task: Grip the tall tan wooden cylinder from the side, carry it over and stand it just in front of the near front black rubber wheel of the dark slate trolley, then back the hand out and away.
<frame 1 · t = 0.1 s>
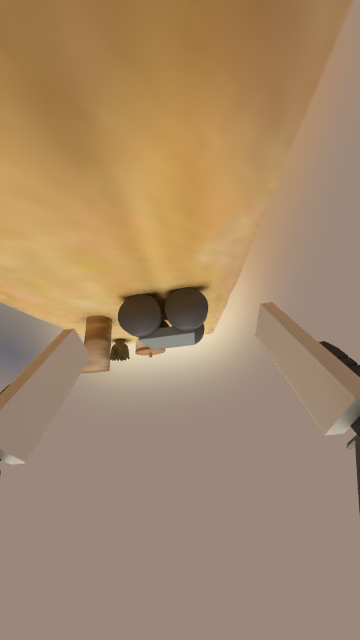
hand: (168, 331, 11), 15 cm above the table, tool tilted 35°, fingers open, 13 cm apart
dark brown textured bowl: (120, 339, 66), on the table
trolley: (167, 308, 42), on the table
lidded jar: (149, 331, 61), on the table
tan wooden cylinder: (99, 320, 45), on the table
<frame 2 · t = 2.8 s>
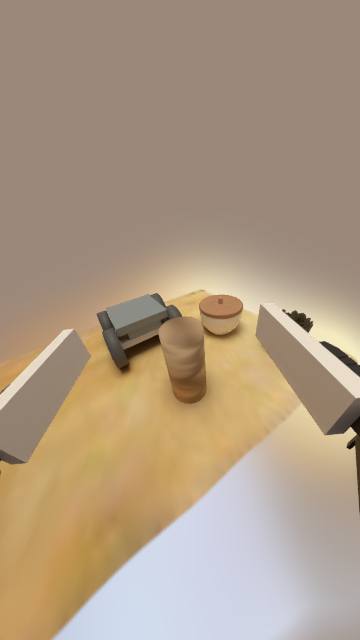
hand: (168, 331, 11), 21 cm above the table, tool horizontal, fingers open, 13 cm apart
dark brown textured bowl: (280, 348, 36), on the table
trolley: (144, 338, 44), on the table
lidded jar: (219, 328, 44), on the table
tan wooden cylinder: (189, 386, 30), on the table
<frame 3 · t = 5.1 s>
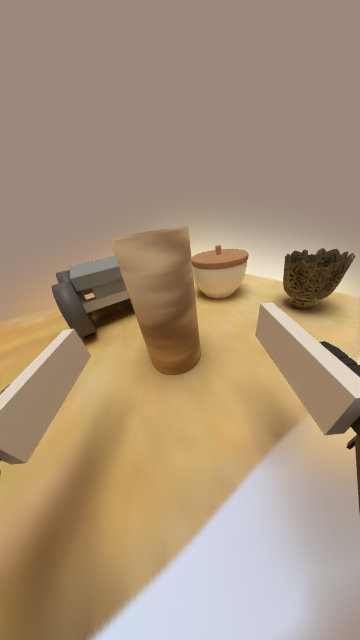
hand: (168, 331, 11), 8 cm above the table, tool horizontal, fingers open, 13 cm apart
dark brown textured bowl: (300, 306, 26), on the table
trolley: (122, 307, 35), on the table
lidded jar: (218, 293, 35), on the table
tan wooden cylinder: (176, 354, 21), on the table
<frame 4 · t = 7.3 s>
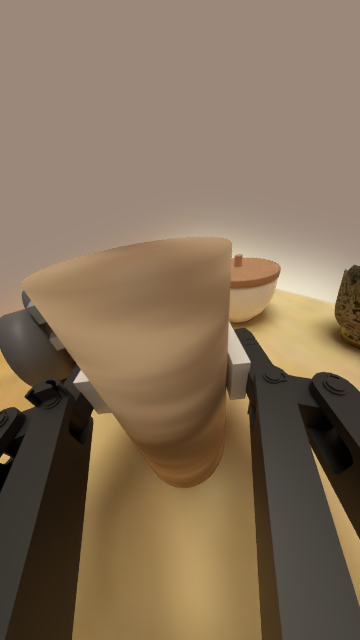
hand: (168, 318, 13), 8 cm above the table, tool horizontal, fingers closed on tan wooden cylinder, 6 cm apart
dark brown textured bowl: (358, 342, 19), on the table
trolley: (111, 331, 27), on the table
lidded jar: (234, 313, 27), on the table
tan wooden cylinder: (183, 432, 13), on the table, touching gripper
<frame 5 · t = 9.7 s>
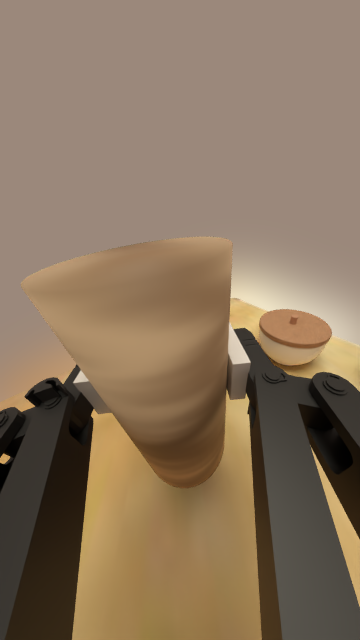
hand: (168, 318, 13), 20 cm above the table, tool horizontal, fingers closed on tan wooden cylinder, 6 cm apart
lidded jar: (283, 354, 33), on the table
tan wooden cylinder: (184, 432, 13), point 12 cm above the table, touching gripper
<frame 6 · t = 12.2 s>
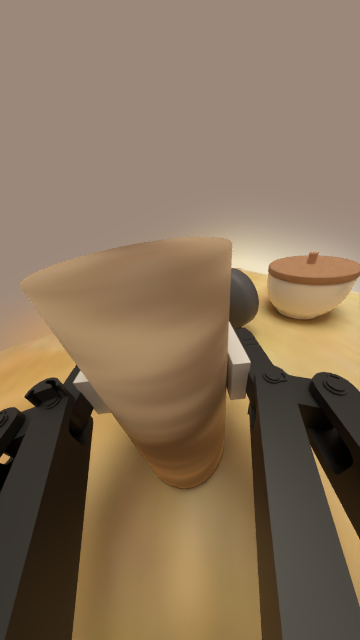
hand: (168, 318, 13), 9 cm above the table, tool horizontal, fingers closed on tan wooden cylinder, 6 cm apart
trolley: (174, 328, 28), on the table
lidded jar: (296, 310, 27), on the table
tan wooden cylinder: (184, 432, 13), point 1 cm above the table, touching gripper
when the fingers open (9 cm above the table, at t = 12.2 s): tan wooden cylinder drops 1 cm, on the table.
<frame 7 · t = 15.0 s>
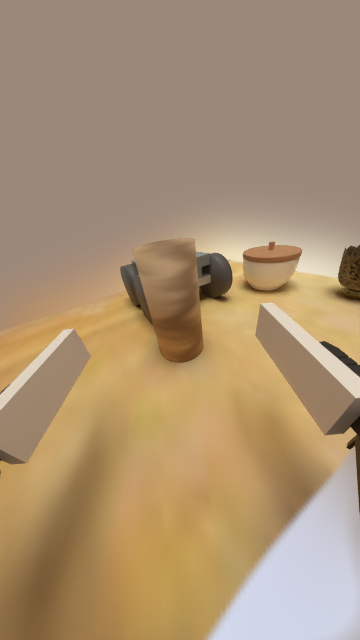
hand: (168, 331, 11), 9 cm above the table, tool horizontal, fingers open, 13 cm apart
dark brown textured bowl: (353, 296, 29), on the table
trolley: (175, 299, 38), on the table
lidded jar: (264, 286, 37), on the table
tan wooden cylinder: (181, 345, 24), on the table
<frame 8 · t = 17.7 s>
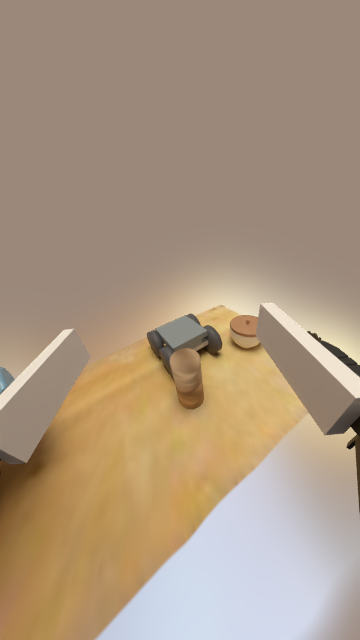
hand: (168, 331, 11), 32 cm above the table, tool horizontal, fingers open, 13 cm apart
trolley: (183, 351, 55), on the table
lidded jar: (245, 342, 54), on the table
tan wooden cylinder: (191, 396, 41), on the table
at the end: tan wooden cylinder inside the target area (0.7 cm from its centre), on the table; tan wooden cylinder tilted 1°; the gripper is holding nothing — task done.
